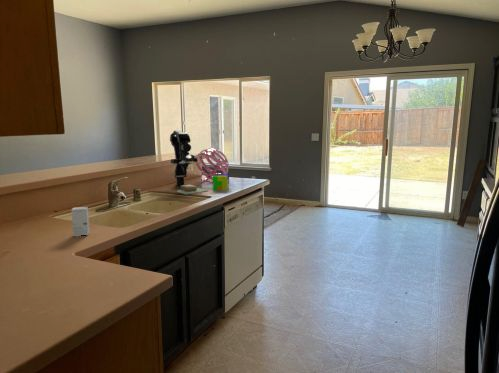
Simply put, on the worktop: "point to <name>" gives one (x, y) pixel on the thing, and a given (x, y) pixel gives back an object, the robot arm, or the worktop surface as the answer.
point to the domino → (188, 188)
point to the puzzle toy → (221, 182)
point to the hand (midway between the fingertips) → (184, 172)
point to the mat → (192, 191)
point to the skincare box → (80, 221)
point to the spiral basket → (216, 167)
